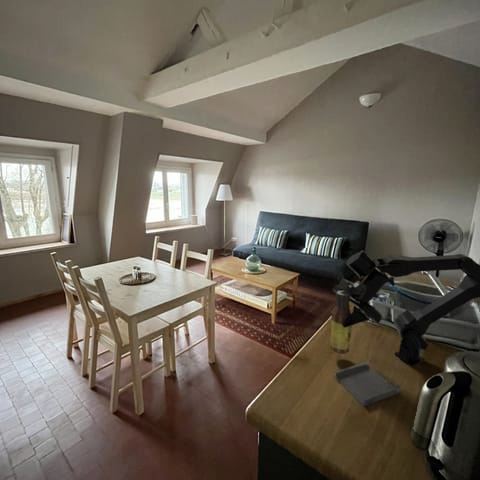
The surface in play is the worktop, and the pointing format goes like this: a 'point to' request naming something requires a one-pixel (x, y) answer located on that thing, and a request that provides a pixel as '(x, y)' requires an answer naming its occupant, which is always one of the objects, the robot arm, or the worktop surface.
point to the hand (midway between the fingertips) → (337, 321)
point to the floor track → (365, 383)
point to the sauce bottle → (340, 324)
